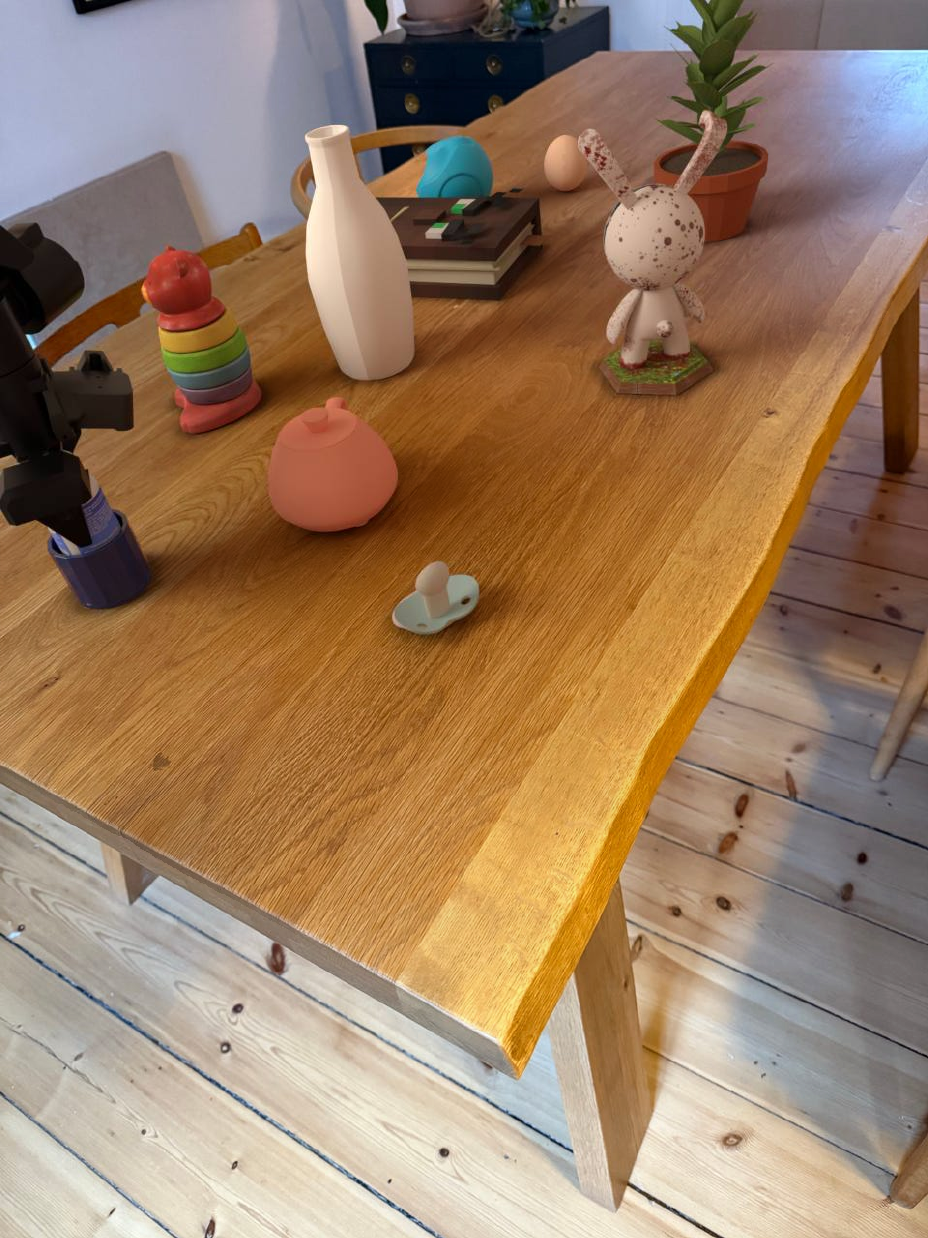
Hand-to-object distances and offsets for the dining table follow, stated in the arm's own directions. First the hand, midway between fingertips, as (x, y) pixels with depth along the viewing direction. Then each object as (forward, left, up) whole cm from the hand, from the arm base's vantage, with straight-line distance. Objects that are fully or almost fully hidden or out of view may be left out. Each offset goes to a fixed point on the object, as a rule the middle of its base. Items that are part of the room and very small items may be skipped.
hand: (84, 528), depth 78 cm
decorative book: (+51, +47, -7) cm, 69 cm away
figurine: (+60, +5, -7) cm, 60 cm away
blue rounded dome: (+61, +63, -7) cm, 87 cm away
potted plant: (+86, +34, -7) cm, 92 cm away
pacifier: (+25, -19, -7) cm, 32 cm away
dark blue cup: (0, 0, -7) cm, 7 cm away
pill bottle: (0, 0, -3) cm, 3 cm away
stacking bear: (+16, +28, -7) cm, 32 cm away
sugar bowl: (+23, +1, -7) cm, 24 cm away
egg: (+79, +62, -7) cm, 100 cm away
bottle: (+35, +26, -7) cm, 44 cm away
